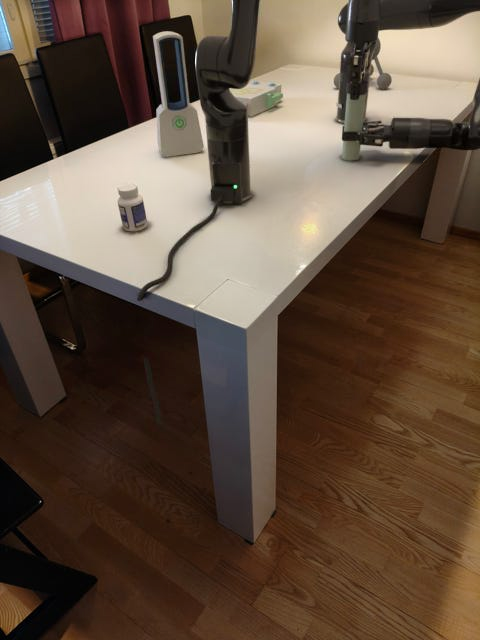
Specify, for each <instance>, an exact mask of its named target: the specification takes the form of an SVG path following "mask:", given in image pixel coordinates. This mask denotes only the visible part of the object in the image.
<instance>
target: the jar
mask: <svg viewBox="0 0 480 640" xmlns="http://www.w3.org/2000/svg"><path fill="white" fill-rule="evenodd" d="M365 98H366V93H365V94H361V95H360V96H359V99H358V100H351V99H350V94H348V93H347V100H346V112H345V123H344V125H343V126H344V131H345V132H357V133H358V132H359V131H362V127H363V117H364V107H365ZM361 146H362V145H360V144H359V143H358V142H357V140H356V141H342V151H341V159H342V160H344V161H349V162H350V161H351V162H352V161H357V160H359V159H360V155H361Z"/></svg>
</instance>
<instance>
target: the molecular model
mask: <svg viewBox="0 0 480 640" xmlns="http://www.w3.org/2000/svg"><path fill="white" fill-rule="evenodd" d="M381 45H382V44H381V40H380V38H379V37H378V39H377V41H376V47H375V50H374V52H373V55H372V61H374V63H375V66H376V69H377V71H378V74H379V75H378V76H377V78H376V85H377V87H378V88H380V89H381V90H385V89H387V88H389V87H390V86H391V84H392V82H393V78H392V76H391V74H390V73H388V72H384V71H383V68H382V66H381V63H380V60H379V57H378V55H380V51H381ZM374 70H375V68H374V65H373V64H372V63H371V71H370V77H372V76H373V74H374V72H375V71H374ZM339 79H340V72H338V73H337V74H335V76H334V77H333V85H334V87H335V88H337V89H339Z"/></svg>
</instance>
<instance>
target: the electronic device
mask: <svg viewBox="0 0 480 640" xmlns="http://www.w3.org/2000/svg"><path fill="white" fill-rule="evenodd" d="M152 40H153V48H154V54H155V61H156V70H157V76H158V83H159V92H160V98H161V103H160V104H159V106H158V107H157V108H156V113H155V114H156V134H157V137H156V138H157V147H158V149H159V152H160V154H162V155H163V156H164V157H166V158H168V157H176V156H182V155H190V154H191V155H192V154H197V153H201V152H202V150H203V149H204V147H205V146H204V141H203V140H204V139H203V135H202V129H201V125H200V124H201V123H200V120H199V113H198V109H196V108H195V106H194V105H193V104H192V103H191V102H190V95H189V87H188V86H189V84H188V78H187V77H188V76H187V75H188V74H187V67H186V58H185V49H184V38H183V36H182V35H181V34H179V33H177V32H174V31H169V30H166V31H161V32H160V31H159V32H157V33H155V34H154V35H152ZM167 41H174V48H175V49H174V50H175V56H176V65H177V75H178V82H179V91H180V100H179V101H176V102H170V100H169V99H170V98H169V92H168V84H167V83H168V82H167V77H166V69H165V61H164V54H163V53H164V51H163V46H162V43H163V42H167Z"/></svg>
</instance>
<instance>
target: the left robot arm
mask: <svg viewBox="0 0 480 640" xmlns="http://www.w3.org/2000/svg"><path fill="white" fill-rule="evenodd" d="M230 2H231V21H230V30H229V34H228V35H218V34H217V35H216V34H209V35H205V36H204V37H202V38H201V39H200V41H199V42H198V45H197V47H196V51H195V61H194V62H195V63H194V64H195V77H196V83H197V89H198V96H199V97H198V98H199V105H200V108H201V111H202V113H203V114H204V122H205V132H206V144H207V155H208V166H209V167H208V168H209V179H210V201H211V202H214V203H215V204H214V206H213V209H212V211H211V213H210V214H209V215H208V216H207V218H205V219H204V220H203V221H201V222H199V223H198V224H196V225H194V226H193V227H191V228H190V229H189V230H188V231H187V232H186V233H185V234H183V235H182V237H180V238H179V239H178V240H177V241H176V242H175V244H174V245H173V246H172V247H171V249H170V250H169V253H168V256H167V266H166V269H165V273H164V274H163V275H162V276H161V277H159V278H157V279H153V280H151V281H149V282H148V283H146V284H144V285H143V286H142V287H141V289H140V291H139V293H138V295H137V299H136V301H138V302H141V301H143V299H144V296H145V294H146V293H147V291H148V290H149V289H151V288H153V287H155V286H157V285H160V284H162V283H164V282H165V281H167V280H168V279H169V277H170V275H171V273H172V271H173V259H174V255H175V253H176V251H177V250H178V249H179V248H180V246H181V245H182V244H183V243H184V242H185V241H186V240H187V239H188V238H189V237H190V236H191V235H193V233H195V232H197V230H199V229H201V228H202V227H204V226H206V225H207V224H208V223H209V222H211V221H212V220H213V218H214V217H215V216H216V214H217V212H218V210H219V207H220V206H221V205H242V204H243V202H246V201H248V200H250V198H251V196H252V190H251V165H250V162H251V161H250V138H249V135H250V134H249V116H248V110H247V107H246V105H245V104H243V103H242V102H241V101H239V100H238V99H237V98H235V97H234V96H233V94H232V93H231V91H230V90H231V89H242V88H244V87H245V86H247V85H248V84H250V82H251V80H252V77H253V73H254V69H255V63H256V57H257V56H256V55H257V54H256V53H257V44H258V43H257V42H258V29H259V16H260V7H261V0H230ZM347 3H348V9H347V22H346V35H345V34H344V35H345V38H344V40H345V41H346V43H347V42H350V43H354V44H355V46H354V49H353V51H351V56H350V60H351V63H350V78H349V80H350V83H351V91H350V99H351V100H358V99H359V96H360V85H361V82H362V80H364V78H363V77H365V73H366V70H367V69H366V68H367V65H368V57H369V50H370V49H369V46H367V43H370V42H375V41H376V40H377V39H378V38H379V32H380V31H379V23H380V14H381V0H348V2H347ZM354 75H355V76H354ZM142 359H143V364H144V369H145V373H146V378H147V383H148V387H149V390H150V395H151V398H152V403H153V407H154V411H155V416H156V420H157V425H158V426H162V425H163V419H162V413H161V409H160V405H159V400H158V397H157V392H156V388H155V384H154V380H153V376H152V370H151V366H150V360H149V357H143V358H142Z"/></svg>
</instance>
